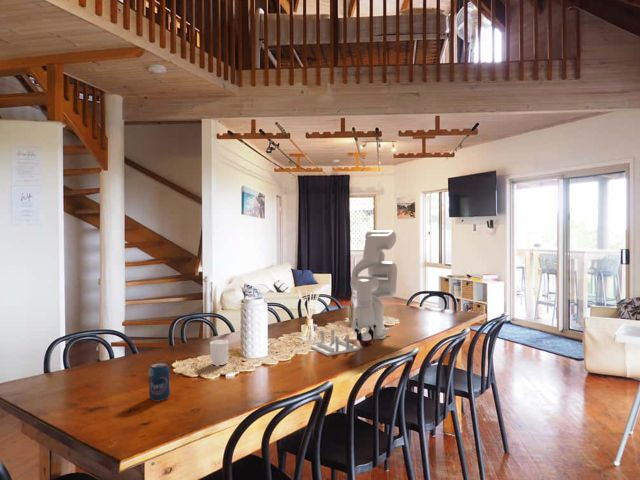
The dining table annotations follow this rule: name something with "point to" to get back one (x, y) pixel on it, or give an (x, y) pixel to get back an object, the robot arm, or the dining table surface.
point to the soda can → (159, 381)
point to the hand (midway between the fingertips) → (365, 339)
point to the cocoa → (366, 340)
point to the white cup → (219, 351)
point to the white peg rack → (334, 345)
